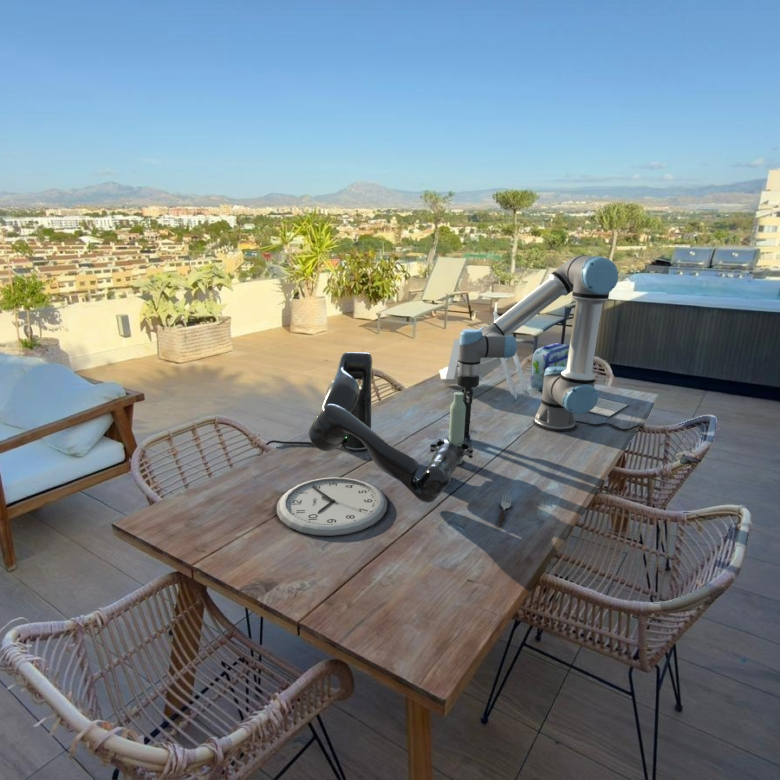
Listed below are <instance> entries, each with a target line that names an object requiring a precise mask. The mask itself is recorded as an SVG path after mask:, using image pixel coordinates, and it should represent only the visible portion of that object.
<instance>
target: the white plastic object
mask: <svg viewBox="0 0 780 780" xmlns="http://www.w3.org/2000/svg"><path fill="white" fill-rule="evenodd" d="M492 315H493V319H494V321H496V320H497V319H498V318H500V315H499V314H498V312H497V311H496V310H495V311H492ZM459 340H460V338H459V339H458V338H454V340H453V344H452V349H451V353H450V357H449V362H448V366H446V367H444V368H442V369H440V370H439V371H438V372H439V376H440V381H442V383H443V384H444V385H445V386H449V385H458V384H457V375H458V374H459V373H458V367H456V365H457V364H458V360H459ZM510 360H513V363H514V366H515V369H516V372H517V376H518V380H519V382H520V385H521V389H522V391H523V393H524V395H525V396H526V397H528V396H531V395H530V390H529V388H528V387H529V386H528V384H527V381H526V378H525V375H524V371H523V369H522V368H523V367H522V366H521V362H520V359H519V355H518V352H517V351H516V354H515V355H514V356H513V357H508V358H481V359H480V374H479V383H480V382H482V381H484V378H485V377H486V376H487V375H489V374H490V373H492V372H494V371H495V370H496V369H497V368H499V367H500V366H502V370H503V373H504V376H505V380H506V383H507V386H508V390H509V393H510V394H511V395H512V397H513V398H514V399H515V400H517V392H516V391H517V390H516V388H515V385H514V381H513V378H512V375H511V371H510V369H509V365H508V361H510Z"/></svg>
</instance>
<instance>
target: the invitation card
mask: <svg viewBox="0 0 780 780" xmlns="http://www.w3.org/2000/svg"><path fill="white" fill-rule="evenodd" d="M628 406H629V404H627V403H623V402H618V401H614V400H609V399H605V398H601V397H598V401H597V403H596V405H595V407H594V408H593V409H591V410H590V411H589V412H588V413H593V414H596V415H600V416H604V417H608V418H609V417H611V416H613V415H614V414H616V413H617V412H619V411H621V410H623V409H624V408H626V407H628Z"/></svg>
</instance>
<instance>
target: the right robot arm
mask: <svg viewBox="0 0 780 780" xmlns="http://www.w3.org/2000/svg"><path fill="white" fill-rule="evenodd" d="M618 282H619V270H618V267H617V265H616V264H615V263H614V262H613V261H612V260H610V259H609V258H606V257H604V256H595V255H587V254H580V255H576V256H574V257H572V258H571V259H569V260H567V261H566V262H564V263H562V264H561V265H560V266H559V267H558V268H556V269H554V271H552V272H551V273H550V274H549V276H548V279H547V280H546V281H544V282H543V283H542V284H540V285H539V286H538V287H536V288H535V289H534V290H533V291H532V292H530V293H529V294H528V295H526V296H525V297H523V299H521V300H520V301H519V302H517V303H516V304H515V305H514V306H512V307H511V308H510V309H509V310H507V311H506V312H504V313H503V314H502V315H501V316H499V318H498V319H497V320H496V321H495V320H494V321H493V322H491V323H490V324H489V325H488V326H482V327H480V328H478V329H474V328H466V329H462V330H461V331H460V333H459V339H460V340H459V360H458V364H457V365H456V367H458V373H459V374H458V375H457V384H456V385H458V386H459V387H462V388H461V391H460V392H462V393H464V396H463V402H464V404H465V406H466V413H465V429H464V439H465V438H467V440H469V434H470V426H471V425H470V424H471V416H472V414H471V413H472V404H473V396H474V389H473V388H476V387H477V388H478V386H479V385H480V382H479V374H480V359H481V358H508V357H513V356H514V355H515V354H516V352H517V350H518V341H517V338H516V337H515V336H514V335H513V334H514V333H515V332H516V331H517V330H518V329H520V328H521V327H523V326H524V325H525V324H526V323H528V322H530V321H531V320H532V319H533V318H534V317H536V316H537V315H538V314H539V313H541V312H542V311H544V310H545V309H547V307H549V306H550V305H551V304H553V303H554V302H556V300H558V299H559V298H561V297H562V296H565V297H566V296H568V295H569V294H571V293H572V295H571V297H572V298H573V299H574V301H575V305H574V306H575V307H574V314H573V320H572V326H571V334H570V339H569V340H570V341H569V345H570V346H569V353H568V360H567V367H548V368H546V370H545V373H544V381H543V390H541V391H542V394H541V402H540V405H539V407H538V410H537V411H536V413H535V416H534V424H535V425H536V426H537V427H539V428H542V429H544V430H549V431H556V432H567V431H572V430H574V429H575V428H576V423H577V424H584V425H588V426H592V427H598V426H603V425H606V426H611V427H612V428H615V429H617V430H620V431H631V430H633V429H635V428H640V429H641V430H642V429H643V430H645V428H644V426H642V425H641V424H635V425H634V426H632V427H628V428H623V427H620V426H617V425H615V424H613V423H609V422H600V423H592V422H587V421H580V420H576V418H575V417H576V416H575V415H584V414H587V413H590V412H589V411H590V410H591V409H593V408H594V407H595V405H596V403H597V401H598V398H599V393H598V391H597V388H596V387H595V383H596V375H595V374H594V372H593V366H594V361H595V360H594V359H595V353H596V348H597V341H598V335H599V329H600V323H601V316H602V310H603V305H604V303H605V302H606V301H608V300H609V297H610V292H612V290H613V289H615V287H616V286H617V284H618Z"/></svg>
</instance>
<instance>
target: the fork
mask: <svg viewBox="0 0 780 780" xmlns="http://www.w3.org/2000/svg"><path fill="white" fill-rule="evenodd" d="M505 494H506V495H505ZM505 494H502V499H501V501H500V507H501V508H502V510H501V512H500V515H499V519H498V525H497V528H500V526H501V524H502V522H503V521H504V519H505V512H506V509H509V508H510V507H511V506H512V498H513V497H512V496H513V494H510V495H508V497H507V493H505ZM504 498H505V499H504Z"/></svg>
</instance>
